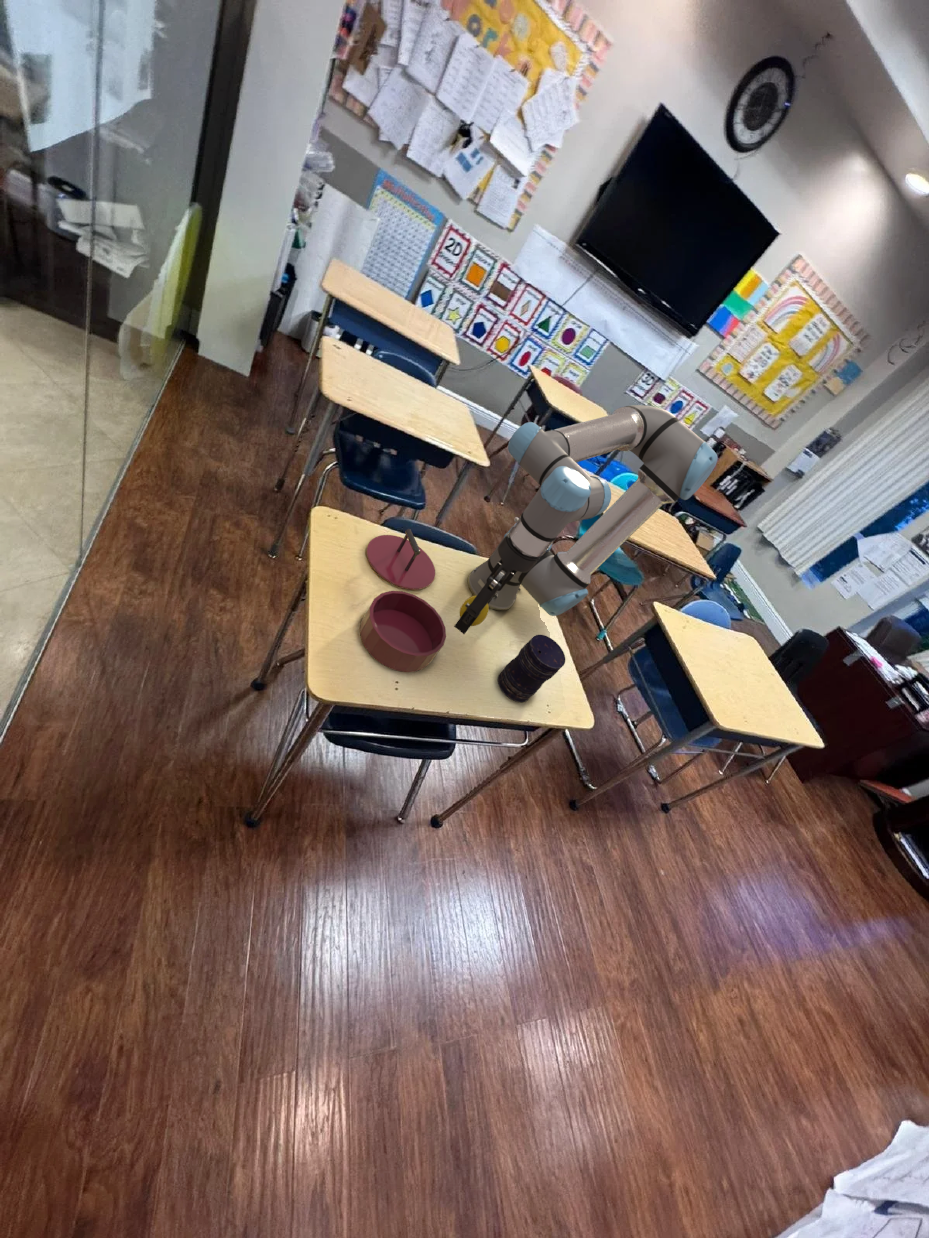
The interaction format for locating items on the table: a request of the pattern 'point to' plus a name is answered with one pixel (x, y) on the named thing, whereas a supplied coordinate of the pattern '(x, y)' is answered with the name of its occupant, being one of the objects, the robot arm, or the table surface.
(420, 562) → the lid
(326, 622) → the table surface
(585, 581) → the robot arm
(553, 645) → the storage jar
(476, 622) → the lemon
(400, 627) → the pot
